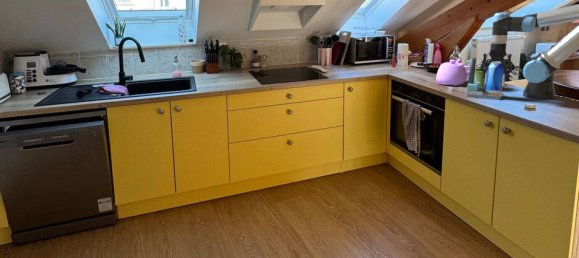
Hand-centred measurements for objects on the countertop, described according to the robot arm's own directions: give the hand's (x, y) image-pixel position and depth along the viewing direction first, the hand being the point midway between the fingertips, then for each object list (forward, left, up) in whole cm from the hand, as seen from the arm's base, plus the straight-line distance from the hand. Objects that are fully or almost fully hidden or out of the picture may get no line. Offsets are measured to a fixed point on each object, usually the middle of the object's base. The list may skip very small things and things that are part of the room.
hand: (494, 84), depth 233 cm
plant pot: (+9, -21, -7) cm, 23 cm away
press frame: (+4, 0, -7) cm, 8 cm away
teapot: (+29, -27, -7) cm, 40 cm away
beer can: (0, 0, -4) cm, 4 cm away
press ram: (+10, 0, -5) cm, 12 cm away
